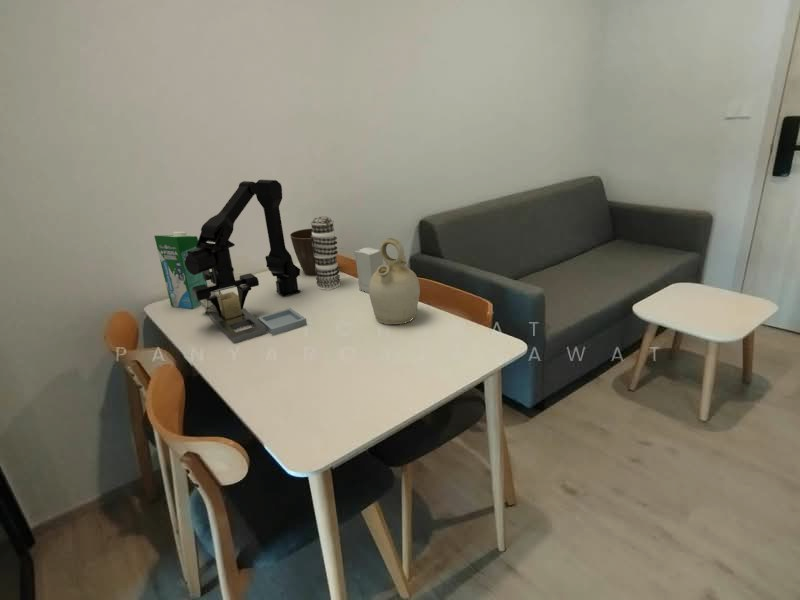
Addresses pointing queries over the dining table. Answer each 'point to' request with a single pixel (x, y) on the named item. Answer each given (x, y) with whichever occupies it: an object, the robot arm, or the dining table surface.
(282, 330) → the tray
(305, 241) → the plant pot
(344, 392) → the dining table surface
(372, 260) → the skincare box
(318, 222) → the patterned tower model
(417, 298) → the jug
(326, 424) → the dining table surface
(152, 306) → the dining table surface
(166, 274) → the milk carton
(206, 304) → the game die
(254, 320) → the grey flat frame
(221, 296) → the tan rectangular block
